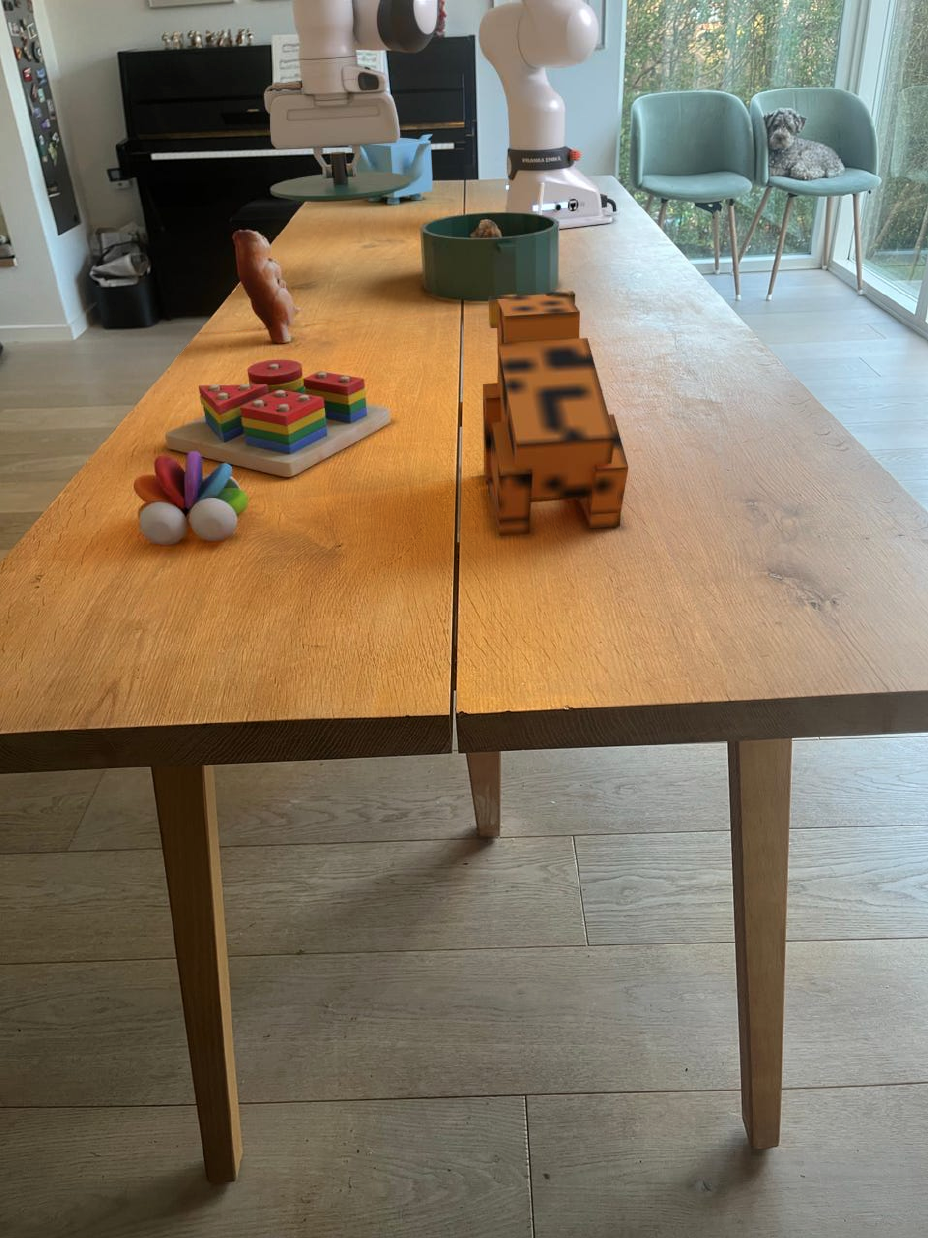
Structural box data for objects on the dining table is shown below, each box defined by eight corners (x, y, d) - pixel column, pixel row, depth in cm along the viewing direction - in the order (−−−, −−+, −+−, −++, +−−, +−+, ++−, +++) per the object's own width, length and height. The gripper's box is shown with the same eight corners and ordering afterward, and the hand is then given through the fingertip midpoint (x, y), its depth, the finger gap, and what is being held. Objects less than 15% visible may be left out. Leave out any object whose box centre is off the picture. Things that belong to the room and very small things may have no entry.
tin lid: (404, 175, 170) (401, 139, 167) (418, 197, 151) (415, 156, 148) (272, 185, 168) (267, 148, 165) (269, 208, 149) (264, 167, 146)
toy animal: (502, 547, 83) (498, 361, 75) (479, 456, 100) (474, 296, 92) (625, 538, 84) (635, 353, 75) (582, 449, 101) (586, 289, 92)
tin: (535, 263, 172) (536, 205, 167) (578, 301, 150) (580, 235, 145) (413, 273, 169) (410, 214, 164) (438, 313, 147) (434, 247, 142)
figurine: (308, 335, 140) (294, 223, 132) (278, 350, 134) (262, 234, 126) (272, 331, 142) (256, 221, 134) (241, 346, 136) (222, 232, 128)
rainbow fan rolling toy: (151, 511, 92) (134, 438, 88) (255, 504, 92) (243, 431, 88) (133, 554, 85) (113, 476, 81) (246, 546, 85) (232, 468, 81)
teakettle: (362, 194, 243) (356, 128, 235) (438, 191, 242) (434, 125, 234) (352, 208, 227) (346, 137, 219) (433, 205, 226) (429, 134, 218)
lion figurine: (471, 275, 165) (469, 217, 160) (503, 273, 165) (502, 216, 160) (474, 297, 152) (472, 235, 147) (509, 295, 152) (508, 234, 148)
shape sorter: (289, 479, 97) (281, 420, 94) (165, 449, 105) (153, 393, 102) (392, 422, 109) (388, 368, 106) (274, 398, 117) (267, 348, 114)
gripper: (259, 84, 148) (273, 183, 155) (396, 76, 148) (403, 176, 156) (264, 81, 153) (277, 177, 160) (395, 73, 154) (402, 170, 161)
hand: (340, 176), depth 158 cm, fingers closed on tin lid, 2 cm apart
